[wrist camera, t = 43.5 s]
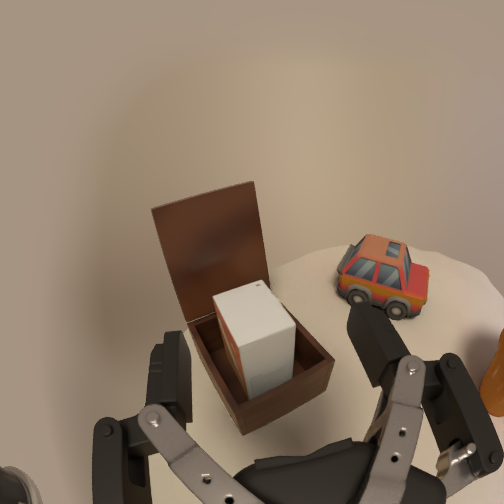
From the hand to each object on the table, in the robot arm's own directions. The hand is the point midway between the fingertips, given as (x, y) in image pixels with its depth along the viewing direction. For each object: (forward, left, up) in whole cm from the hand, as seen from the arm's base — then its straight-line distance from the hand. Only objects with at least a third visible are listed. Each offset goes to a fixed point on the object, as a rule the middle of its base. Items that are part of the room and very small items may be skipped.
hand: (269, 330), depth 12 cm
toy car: (+25, +23, -24) cm, 42 cm away
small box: (0, +12, -24) cm, 26 cm away
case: (0, +12, -24) cm, 27 cm away
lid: (-3, +20, -8) cm, 22 cm away
